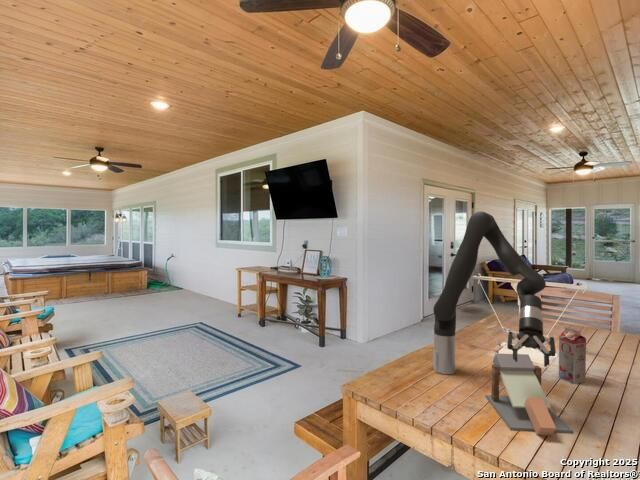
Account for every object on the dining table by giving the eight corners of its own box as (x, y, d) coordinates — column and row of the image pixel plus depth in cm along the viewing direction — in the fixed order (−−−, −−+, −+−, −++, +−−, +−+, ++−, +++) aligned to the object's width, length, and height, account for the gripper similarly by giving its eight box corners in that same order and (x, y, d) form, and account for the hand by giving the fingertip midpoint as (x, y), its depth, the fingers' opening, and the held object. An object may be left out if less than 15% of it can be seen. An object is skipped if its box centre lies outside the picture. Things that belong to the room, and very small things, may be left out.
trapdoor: (492, 361, 135) (495, 353, 133) (524, 362, 134) (528, 354, 131) (511, 410, 119) (515, 402, 116) (548, 412, 118) (553, 404, 115)
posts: (493, 403, 128) (494, 366, 128) (491, 400, 131) (491, 364, 130) (541, 405, 127) (541, 368, 126) (537, 402, 129) (538, 365, 129)
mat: (510, 429, 112) (510, 427, 112) (485, 396, 134) (485, 394, 134) (573, 433, 110) (573, 430, 110) (537, 399, 132) (537, 396, 132)
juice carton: (573, 383, 144) (574, 332, 143) (558, 377, 150) (559, 327, 150) (585, 381, 146) (586, 330, 145) (570, 375, 152) (571, 326, 151)
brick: (523, 404, 117) (536, 434, 109) (527, 397, 115) (540, 427, 107) (537, 405, 117) (551, 435, 109) (541, 397, 114) (556, 428, 106)
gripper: (508, 313, 127) (506, 354, 118) (554, 318, 120) (556, 362, 110) (508, 324, 132) (507, 364, 123) (553, 329, 125) (555, 372, 115)
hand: (530, 363), depth 117 cm, fingers open, 8 cm apart
